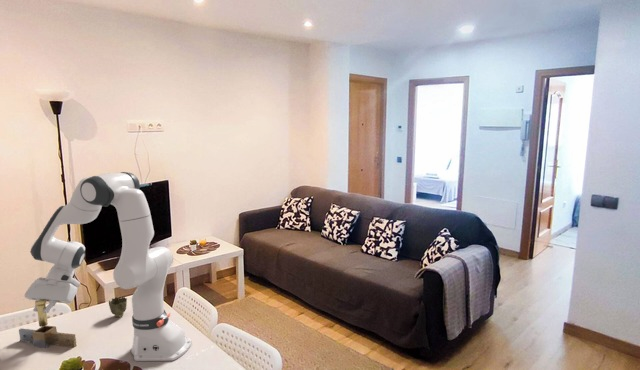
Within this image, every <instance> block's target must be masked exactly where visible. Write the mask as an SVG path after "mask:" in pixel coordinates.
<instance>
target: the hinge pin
mask: <svg viewBox="0 0 640 370" xmlns="http://www.w3.org/2000/svg"><path fill="white" fill-rule="evenodd" d="M35 301H36V300H35ZM46 303H47V301H46V300H45V299H42V300H38V301H36V302H34V306H35V305H37V312H36V313H37V320H38V326H39V328H41V327H42V326H48V323H49V322H48V316H47V315H48V313H44V312H42V310H43V308H44V307H47V305H46Z"/></svg>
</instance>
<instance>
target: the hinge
mask: <svg viewBox="0 0 640 370" xmlns="http://www.w3.org/2000/svg"><path fill="white" fill-rule="evenodd" d="M18 333H19V341H20V342H25V343H26V342H27V343H33V347H37V348H45V349H46V348H48V347H49V346H51V345H53V346H60V347H61V346H62V347H70V348H75V347H77V340H76V339H77V338H76V334H75V333H66V332H58V331H57V326H53V325H46V326H42V327H39V328H37V329H30V328H20V329H19V328H18Z"/></svg>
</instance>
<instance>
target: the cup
mask: <svg viewBox="0 0 640 370" xmlns="http://www.w3.org/2000/svg"><path fill="white" fill-rule="evenodd" d="M127 300H128V298H127V297H126V296H122V297H121V296H119V297H116V296H115V297H114V298H111V300H109V301H108V306H109V310H110V312H111V313H112V314H113V315H114V317H115V318H116V319H117V318H122V317H123V316H124V314H125V312H126V310H127V306H128V305H127V303H128V302H127Z"/></svg>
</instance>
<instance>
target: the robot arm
mask: <svg viewBox="0 0 640 370" xmlns="http://www.w3.org/2000/svg"><path fill="white" fill-rule="evenodd" d="M140 186H141V185H140V180H139V178H138V177H137V176H136V175H135V174H134V173H132V172H127V171H122V172H115V173H113V172H112V173H110V172H109V173H103V174H99V175H93V176H88V177H83V178H82V179H81V180H80V181H79V182H78V184H77V185H76V187H75V189H74V191H73V192H72V195H71V198H70V199H69V202H68V203H67V204H65V205H61V206H59V207H58V208H57V209H56V210H55V211H54V213H52V215H51V217H50V219H49V220H48V222H47V223H46V225H45V226H44V228H43V230H42V231H41V233H40V235H39V236H38V238H37V239H36V240H34V242H33V244H32V246H31V248H30V251H29V252H30V254H31V257H32V258H33V259H34V260H36V261H41V262H47V263H50V264H53V266H52V267H51V268H50V269H49V271H48V273H47V275H46V276H45V277H39V278H37V279H35V280H34V281H33V282H31V284H30V286H29V287H28V289H27V290H26V291H25V293H24V298H25V299H28V300H29V301H35V302H36V301H38V300H42V299H45V300H46V302H48V304H47V305H46V307H44V308H43V310H42V312H44V313H46V314H48V313H49V312H50V310H51V309H52V308H53V307H55V306H56V304H57V303H59V304H71V303H72V302H73V300H74V299H75V297H76V294H77V292H78V287H79V286H80V285H81V282H80V281H79V280H78V279H76V278H75V277H74V275H75V271H76V270H77V268H79V267H81V265H82V263H83V261H84V259H86V247H85V245H84V244H83V243H81V242H80V241H74V240H70V241H65V240H63V239H59V238H56V237H55V236H54V235H55V233H56V232H57V231H58V229H59V227H60V226H61V225H84V224H88V223H91V222H93V221H94V220H96V219H97V218H98V216H99V214H100V212H101V211H102V207H105V208H107V207H109V206H110V205H111V206H113V207H115V209H116V212H117V218H118V223H119V229H120V233H121V239H122V240H121V242H122V244H121V245H122V247H121V253H120V257H119V260H118V262H117V264H116V266H115V268H114V269H113V274H112V276H113V280H114V282H115V284H116V285H117V286H118V287H119V288H120V289H122V290H131V289H134V288H136V289H135V290H134V292H133V294H132V297H131V307H132V308H131V309H132V317H131V321H132V322H131V323H132V327H133V338H132V339H133V341H132V347H131V350H130V351H131V354H132V355H133V360H134V361H135V362H150V361H151V362H154V361H155V362H156V361H157V362H161V361H163V362H165V361H166V362H167V361H175V360H178V359H179V358H180V357H182V356H183V355H184V354H185V353H186V352H187V351H188V350H189V349H190V348H191V346H192V344H193V342H192V338H189V337H186V335H185V331H184V329H183V328H182V327H180V326H179V325H177V324H176V323H174V322H173V321H172V320H171V319H170V317H171V312H169V313H168V314H167V312H166V310H165V306H164V305H165V304H164V289H165V284H166V280H167V275H168V272H169V271H170V269H171V266H172V265H173V263H174V256H173V253H172V251H171V250H170V249H169V248H167V247H165V246H155V247H150V244H151V241H152V240H153V238H154V236H155V230H154V225H153V219H152V215H151V210H150V207H149V203H148V201H147V198H146V195H145V193H144V192H143V191H142V190H141V189H140ZM35 302H34V303H35ZM32 311H33V312H36V313H38V312H37V305H35V304H34V308H33V309H32Z"/></svg>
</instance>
